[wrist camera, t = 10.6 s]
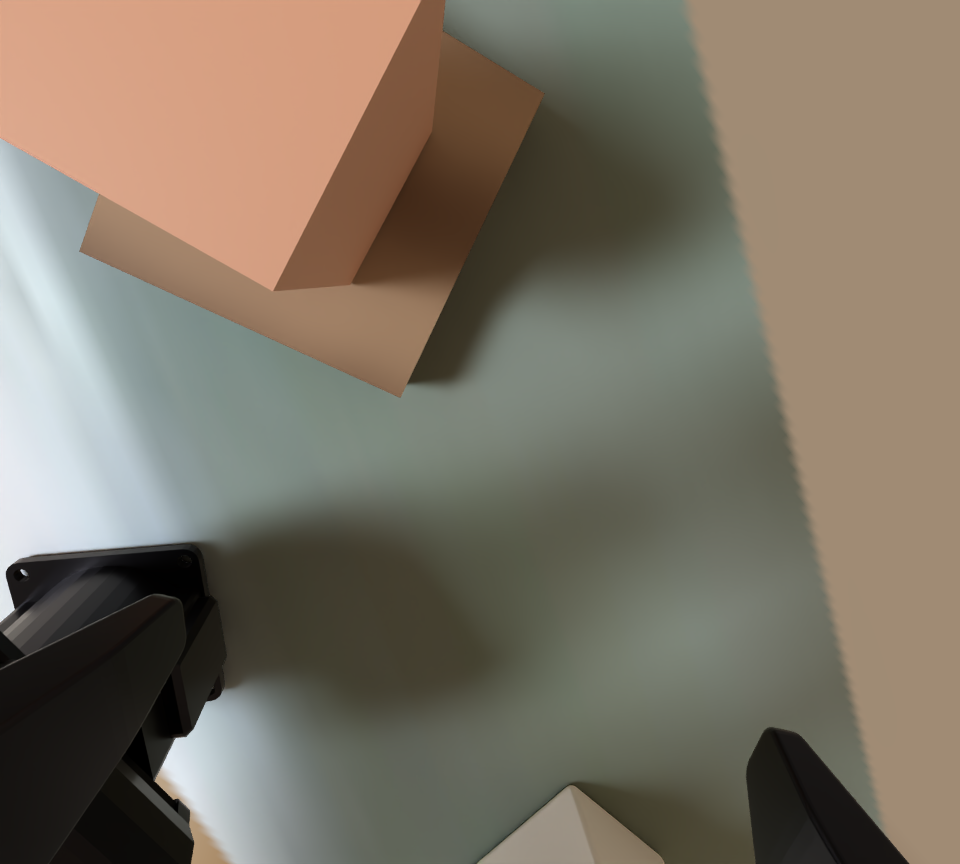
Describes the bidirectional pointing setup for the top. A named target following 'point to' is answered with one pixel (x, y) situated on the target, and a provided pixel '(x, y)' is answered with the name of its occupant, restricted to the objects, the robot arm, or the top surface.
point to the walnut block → (393, 254)
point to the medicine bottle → (572, 836)
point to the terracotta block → (231, 118)
